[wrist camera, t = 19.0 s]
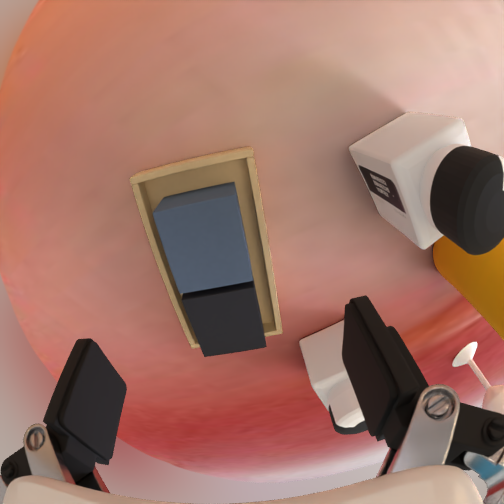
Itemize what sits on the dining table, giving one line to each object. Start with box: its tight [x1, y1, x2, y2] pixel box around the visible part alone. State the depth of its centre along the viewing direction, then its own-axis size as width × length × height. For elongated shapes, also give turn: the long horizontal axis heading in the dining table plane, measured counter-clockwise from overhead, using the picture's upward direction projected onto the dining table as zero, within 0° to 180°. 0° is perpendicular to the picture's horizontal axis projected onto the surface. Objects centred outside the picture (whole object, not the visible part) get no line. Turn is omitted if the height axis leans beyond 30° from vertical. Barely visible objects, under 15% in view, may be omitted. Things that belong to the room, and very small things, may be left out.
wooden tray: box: [130, 146, 283, 348], centre depth 25 cm, size 18×10×2 cm, turn 10°
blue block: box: [152, 182, 253, 294], centre depth 22 cm, size 7×6×4 cm
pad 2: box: [181, 273, 266, 357], centre depth 26 cm, size 7×6×4 cm
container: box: [349, 112, 504, 255], centre depth 17 cm, size 8×8×13 cm
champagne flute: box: [452, 342, 504, 415], centre depth 29 cm, size 7×7×24 cm
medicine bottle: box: [299, 320, 368, 434], centre depth 27 cm, size 7×7×12 cm
